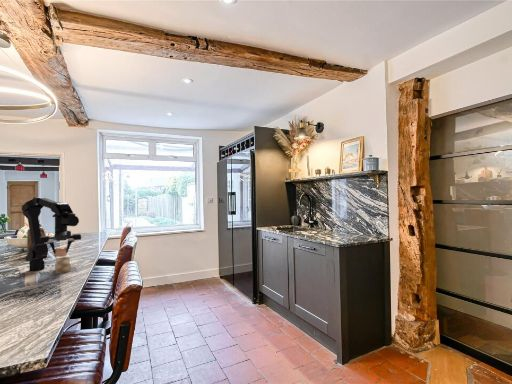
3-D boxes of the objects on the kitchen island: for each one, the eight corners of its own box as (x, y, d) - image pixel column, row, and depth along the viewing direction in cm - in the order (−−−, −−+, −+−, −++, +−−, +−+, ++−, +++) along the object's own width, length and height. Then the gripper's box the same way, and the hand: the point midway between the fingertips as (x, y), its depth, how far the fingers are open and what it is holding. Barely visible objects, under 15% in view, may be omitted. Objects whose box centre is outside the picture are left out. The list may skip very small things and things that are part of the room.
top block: (56, 265, 157) (56, 258, 157) (56, 263, 161) (56, 256, 161) (69, 263, 160) (69, 256, 160) (68, 261, 165) (68, 254, 165)
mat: (49, 276, 152) (49, 275, 152) (48, 271, 162) (48, 270, 162) (77, 271, 160) (77, 271, 160) (75, 267, 170) (75, 266, 170)
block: (26, 257, 197) (26, 229, 197) (28, 255, 204) (27, 228, 204) (46, 255, 203) (45, 227, 203) (46, 253, 210) (46, 226, 210)
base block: (55, 273, 156) (55, 265, 156) (55, 270, 161) (55, 263, 161) (70, 270, 160) (70, 263, 160) (69, 268, 166) (69, 261, 166)
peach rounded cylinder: (55, 257, 153) (55, 249, 153) (54, 255, 157) (55, 248, 157) (66, 255, 156) (66, 248, 156) (66, 254, 160) (66, 247, 160)
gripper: (39, 228, 144) (39, 258, 144) (82, 225, 155) (81, 254, 156) (39, 225, 153) (39, 254, 153) (80, 223, 164) (80, 250, 165)
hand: (60, 253), depth 156 cm, fingers closed on peach rounded cylinder, 5 cm apart
